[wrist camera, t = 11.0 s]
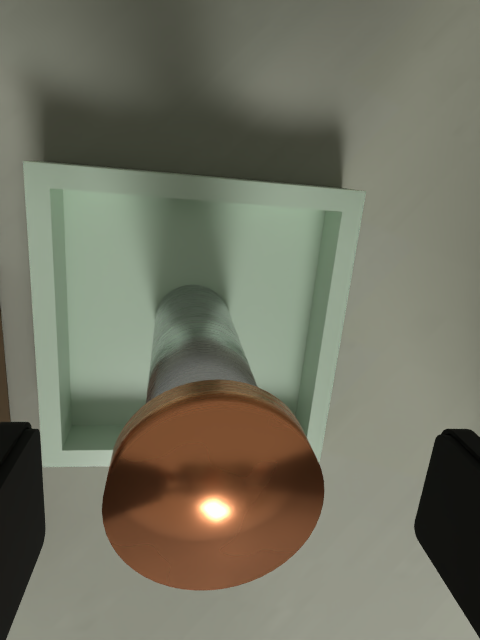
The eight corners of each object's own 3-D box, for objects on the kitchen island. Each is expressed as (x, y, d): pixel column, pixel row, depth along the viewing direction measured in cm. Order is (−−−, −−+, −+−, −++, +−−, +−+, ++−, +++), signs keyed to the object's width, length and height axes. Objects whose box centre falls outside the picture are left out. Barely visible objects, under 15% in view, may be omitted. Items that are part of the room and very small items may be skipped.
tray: (342, 188, 19) (366, 191, 17) (304, 431, 23) (319, 462, 20) (43, 161, 17) (23, 161, 15) (57, 433, 21) (42, 467, 18)
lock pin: (247, 273, 19) (339, 409, 8) (238, 367, 20) (308, 583, 10) (141, 267, 18) (100, 408, 8) (139, 365, 20) (103, 596, 9)
